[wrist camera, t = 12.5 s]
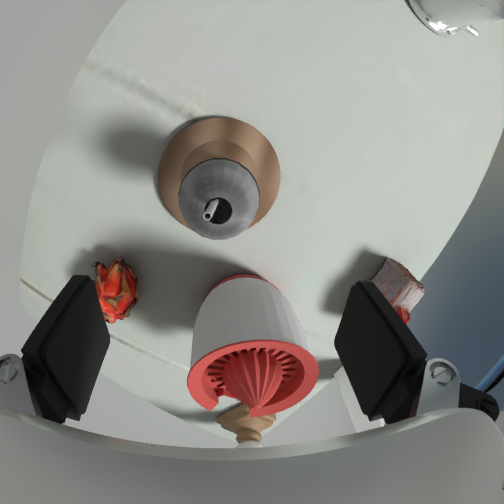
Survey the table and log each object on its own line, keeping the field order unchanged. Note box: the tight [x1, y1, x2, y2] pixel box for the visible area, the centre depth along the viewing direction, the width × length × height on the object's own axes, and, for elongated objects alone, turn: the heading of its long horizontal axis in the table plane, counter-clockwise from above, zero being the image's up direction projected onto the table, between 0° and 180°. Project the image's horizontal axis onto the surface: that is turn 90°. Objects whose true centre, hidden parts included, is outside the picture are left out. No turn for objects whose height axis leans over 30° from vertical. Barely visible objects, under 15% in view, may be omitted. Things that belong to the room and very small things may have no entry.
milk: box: [334, 366, 385, 433], centre depth 46 cm, size 6×6×22 cm
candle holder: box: [217, 403, 276, 448], centre depth 50 cm, size 11×11×24 cm
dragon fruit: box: [91, 257, 139, 323], centre depth 37 cm, size 8×8×12 cm
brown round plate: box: [158, 118, 280, 230], centre depth 35 cm, size 16×16×1 cm
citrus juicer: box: [187, 274, 319, 417], centre depth 36 cm, size 16×17×20 cm
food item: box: [369, 258, 424, 324], centre depth 42 cm, size 14×8×10 cm, turn 153°
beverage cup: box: [178, 158, 260, 240], centre depth 25 cm, size 7×7×20 cm
